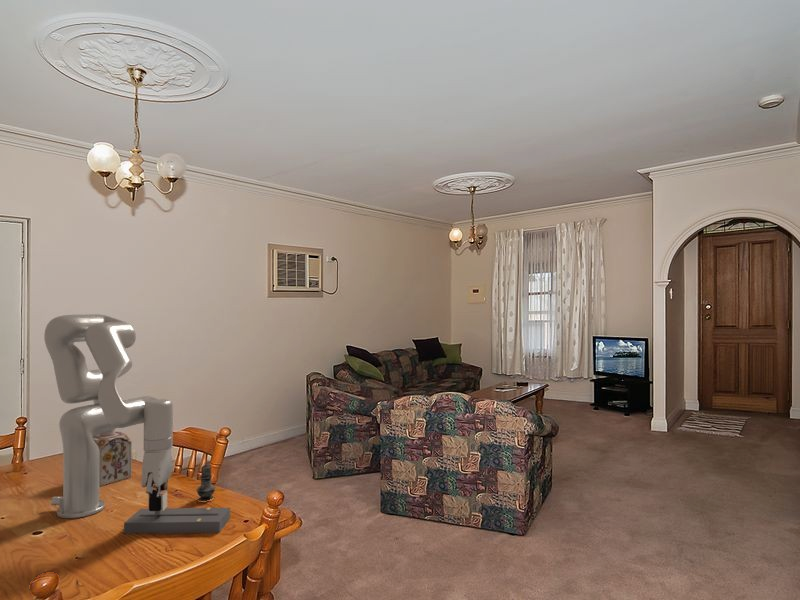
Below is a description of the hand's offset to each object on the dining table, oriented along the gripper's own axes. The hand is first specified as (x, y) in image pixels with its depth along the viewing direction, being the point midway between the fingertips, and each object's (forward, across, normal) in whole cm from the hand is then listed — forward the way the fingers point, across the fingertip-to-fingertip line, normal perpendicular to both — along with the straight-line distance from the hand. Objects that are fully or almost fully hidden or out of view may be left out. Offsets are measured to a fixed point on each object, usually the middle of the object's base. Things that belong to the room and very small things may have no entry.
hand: (158, 507), depth 149 cm
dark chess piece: (+5, -20, +7) cm, 22 cm away
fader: (+2, 0, 0) cm, 2 cm away
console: (+5, 0, +6) cm, 8 cm away
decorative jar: (+6, -41, -35) cm, 54 cm away
